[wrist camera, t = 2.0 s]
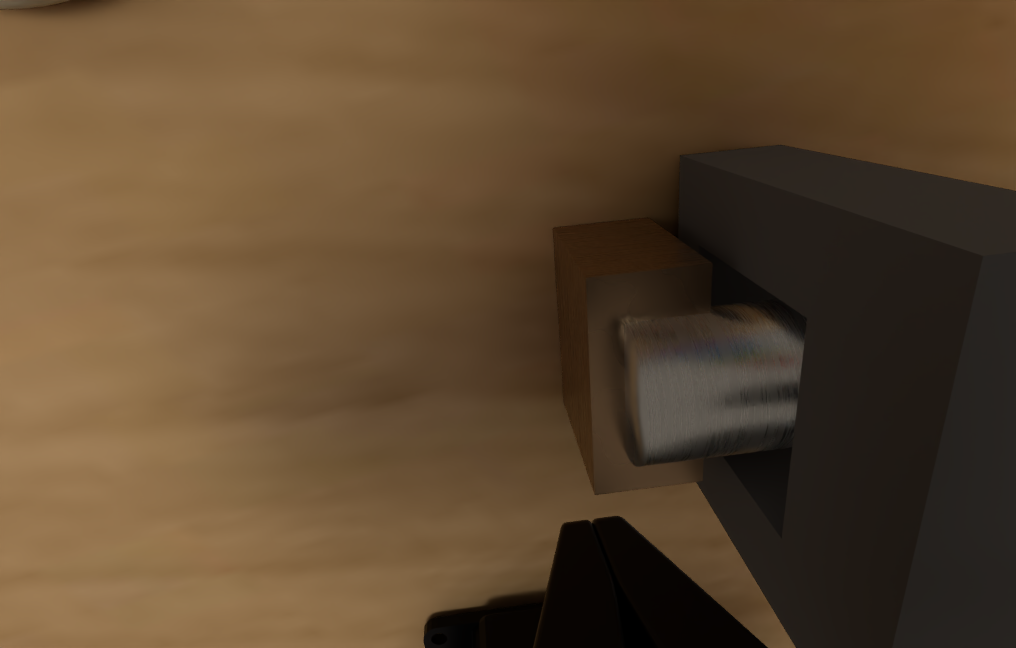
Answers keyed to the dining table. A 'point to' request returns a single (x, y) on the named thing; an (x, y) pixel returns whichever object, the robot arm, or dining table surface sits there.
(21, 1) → the stacking toy
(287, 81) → the dining table surface
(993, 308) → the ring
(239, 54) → the dining table surface
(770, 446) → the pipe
